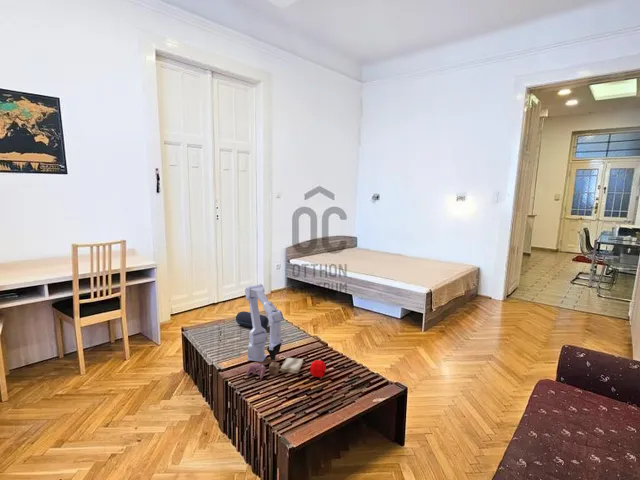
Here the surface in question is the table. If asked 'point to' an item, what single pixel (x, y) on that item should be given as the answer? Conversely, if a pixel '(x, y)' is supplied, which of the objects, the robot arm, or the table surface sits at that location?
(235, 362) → the table surface
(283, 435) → the table surface
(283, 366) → the shallow cream tray
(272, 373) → the walnut block
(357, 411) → the table surface
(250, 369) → the video game controller
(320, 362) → the ball
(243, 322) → the portable speaker
